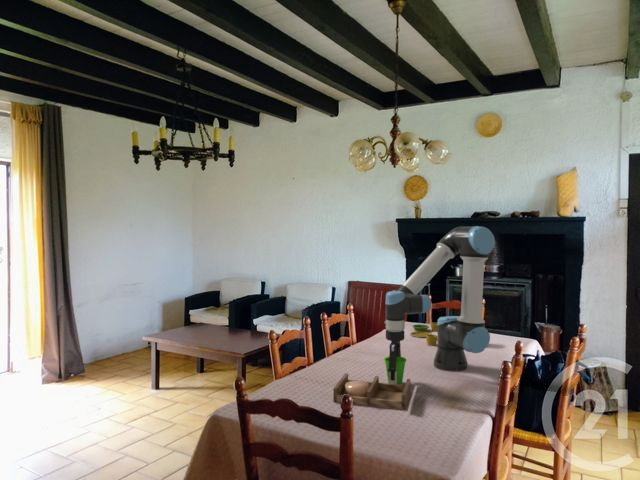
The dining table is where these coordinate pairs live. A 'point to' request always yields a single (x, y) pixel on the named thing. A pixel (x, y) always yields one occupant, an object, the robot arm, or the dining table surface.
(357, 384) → the egg
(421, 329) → the tableware set
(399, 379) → the cup
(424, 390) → the dining table surface
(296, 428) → the dining table surface
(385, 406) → the rack
